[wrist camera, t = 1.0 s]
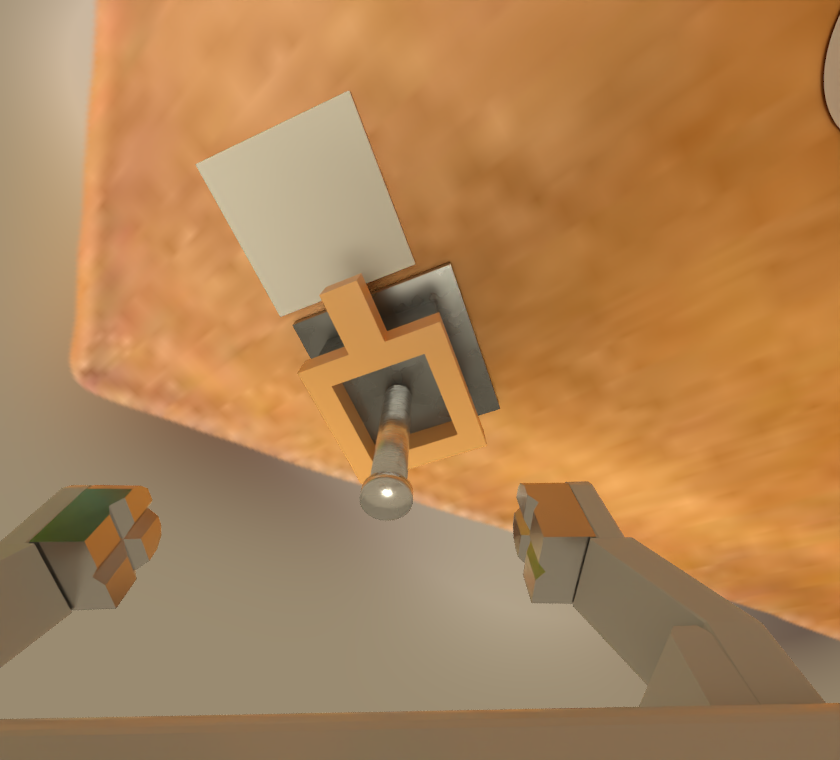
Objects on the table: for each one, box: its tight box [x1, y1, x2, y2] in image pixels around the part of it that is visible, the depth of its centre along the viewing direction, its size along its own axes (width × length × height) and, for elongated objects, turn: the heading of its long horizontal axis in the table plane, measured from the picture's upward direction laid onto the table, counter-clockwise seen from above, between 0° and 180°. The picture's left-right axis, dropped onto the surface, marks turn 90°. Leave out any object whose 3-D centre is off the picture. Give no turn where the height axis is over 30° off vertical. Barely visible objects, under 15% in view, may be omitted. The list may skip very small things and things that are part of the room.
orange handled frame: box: [298, 273, 487, 484], centre depth 34 cm, size 12×17×2 cm
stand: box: [293, 262, 500, 520], centre depth 34 cm, size 16×16×20 cm
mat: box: [195, 91, 415, 317], centre depth 36 cm, size 14×14×1 cm
